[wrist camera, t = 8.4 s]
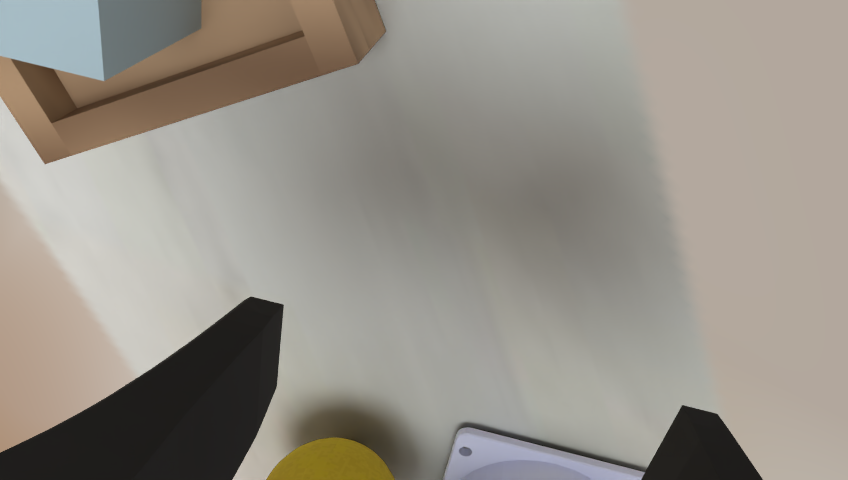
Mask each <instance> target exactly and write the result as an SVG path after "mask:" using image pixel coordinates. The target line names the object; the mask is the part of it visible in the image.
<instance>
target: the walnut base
mask: <svg viewBox="0 0 848 480" xmlns="http://www.w3.org/2000/svg"><path fill="white" fill-rule="evenodd" d="M385 32H386V30H385V27H384V25H383V22H382V19H381V16H380V14H379V11H378V8H377V6H376V3H375V0H201V29H199V30H198V31H196V32H194V33H192V34H190V35H188V36H186V37H185V38H183V39H181V40H179V41H177V42H175V43H174V44H172V45H170V46H168V47H166V48H164V49H163V50H161V51H159V52H157V53H155V54H153V55H151V56H150V57H148V58H146V59H144V60H142V61H140V62H139V63H137V64H135V65H133V66H131V67H129V68H127V69H126V70H124V71H122V72H120V73H118V74H116V75H115V76H113V77H111V78H109V79H107V80H105V81H102V80H97V79H93V78H89V77H85V76H81V75H77V74H73V73H69V72H65V71H60V70H56V69H52V68H48V67H44V66H40V65H36V64H32V63H28V62H23V61H19V60H15V59H11V58H7V57H3V56H0V96H1V98H2V100H3V101H4V103H5V104H6V106H7V107H8V109H9V110H10V112H11V113H12V115H13V116H14V118H15V119H16V121H17V122H18V124H19V125H20V127H21V128H22V130H23V132H24V133H25V135H26V136H27V138H28V139H29V141H30V142H31V144H32V145H33V147H34V148H35V150H36V151H37V153H38V154H39V156H40V157H41V159H42V160H43V162H44V163H45V164H47V163H50V162H53V161H56V160H59V159H63V158H66V157H69V156H72V155H75V154H78V153H81V152H84V151H87V150H91V149H94V148H97V147H100V146H103V145H106V144H109V143H112V142H116V141H119V140H122V139H125V138H128V137H131V136H134V135H137V134H141V133H144V132H147V131H150V130H153V129H156V128H159V127H162V126H166V125H169V124H172V123H175V122H178V121H181V120H184V119H187V118H190V117H194V116H197V115H200V114H203V113H206V112H209V111H212V110H215V109H219V108H222V107H225V106H228V105H231V104H234V103H237V102H240V101H244V100H247V99H250V98H253V97H256V96H259V95H262V94H265V93H269V92H272V91H275V90H278V89H281V88H284V87H287V86H290V85H293V84H297V83H300V82H303V81H306V80H309V79H312V78H315V77H318V76H322V75H325V74H328V73H331V72H334V71H337V70H340V69H343V68H347V67H350V66H353V65H356V64H358V63H359V62H360V61H361V60H362V59H363V57H364V56H365V55H366V54H367V53H368V52H369V50H370V49H371V48H372V47H373V46H374V45H375V43H376V42H377V41H378V40H379V39H380V38H381V37H382V35H383V34H384V33H385Z"/></svg>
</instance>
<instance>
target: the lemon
mask: <svg viewBox="0 0 848 480" xmlns="http://www.w3.org/2000/svg"><path fill="white" fill-rule="evenodd" d="M266 480H395V479H394V477H393V475H392V473H391V472H390V470H389V469H388V467H387V465H386V464H385V462H384V461H383V460H382V459H381V458H380V457H379V456H378V455H377V454H376V453H375V452H374V451H372V450H371V449H369V448H368V447H366V446H365V445H363V444H360V443H358V442H356V441H353V440H349V439H345V438H333V437H332V438H325V439H318V440H315V441H312V442H309V443H307V444H304V445H302V446H300V447H298V448H297V449H295V450H294V451H292V452H291V453H290V454H288V455H287V456H286V457H285V458H284V459H282V460H281V461H280V462H279V463H278V464H277V465H276V467H275V468H274V469H273V470H272V472H271V473H270V475H269V476H268V478H267V479H266Z"/></svg>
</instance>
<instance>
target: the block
mask: <svg viewBox="0 0 848 480" xmlns="http://www.w3.org/2000/svg"><path fill="white" fill-rule="evenodd" d="M199 29H201V0H0V56H3V57H7V58H11V59H15V60H19V61H23V62H28V63H32V64H36V65H40V66H44V67H48V68H52V69H56V70H60V71H65V72H69V73H73V74H77V75H81V76H85V77H89V78H93V79H97V80H102V81H105V80H107V79H109V78H111V77H113V76H115V75H116V74H118V73H120V72H122V71H124V70H126V69H127V68H129V67H131V66H133V65H135V64H137V63H139V62H140V61H142V60H144V59H146V58H148V57H150V56H151V55H153V54H155V53H157V52H159V51H161V50H163V49H164V48H166V47H168V46H170V45H172V44H174V43H175V42H177V41H179V40H181V39H183V38H185V37H186V36H188V35H190V34H192V33H194V32H196V31H198V30H199Z"/></svg>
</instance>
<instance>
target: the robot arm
mask: <svg viewBox="0 0 848 480" xmlns="http://www.w3.org/2000/svg"><path fill="white" fill-rule="evenodd" d="M283 306H284V305H282V304H278V303H274V302H270V301H267V300H263V299H259V298H255V297H249V298H248V299H246V300H244V301H243V302H242V303H240V304H239V305H238V306H236V307H235V308H234V309H233V310H231V311H230V312H229V313H227V314H226V315H225V316H224V317H222V318H221V319H220V320H218V321H217V322H216V323H215V324H213V325H212V326H211V327H209V328H208V329H207V330H205V331H204V332H203V333H201V334H200V335H199V336H197V337H196V338H195V339H193V340H192V341H191V342H189V343H188V344H186V345H185V346H183V347H182V348H181V349H179V350H178V351H176V352H175V353H174V354H172V355H171V356H169V357H168V358H167V359H165V360H164V361H162V362H161V363H159V364H158V365H156V366H155V367H153V368H152V369H151V370H149V371H147V372H146V373H144V374H143V375H141V376H140V377H138V378H136V379H135V380H133V381H132V382H130V383H129V384H127V385H125V386H124V387H122V388H121V389H119V390H118V391H116V392H114V393H113V394H111V395H110V396H108V397H106V398H105V399H103V400H101V401H99V402H98V403H96V404H95V405H93V406H91V407H89V408H87V409H86V410H84V411H82V412H80V413H79V414H77V415H75V416H73V417H71V418H69V419H67V420H66V421H64V422H62V423H60V424H58V425H56V426H54V427H52V428H50V429H49V430H47V431H45V432H43V433H40V434H38V435H36V436H34V437H32V438H30V439H28V440H26V441H24V442H22V443H20V444H18V445H16V446H14V447H11V448H9V449H7V450H5V451H3V452H1V453H0V480H232V479H233V477H234V476H235V474H236V472H237V470H238V468H239V467H240V465H241V463H242V461H243V459H244V458H245V456H246V454H247V452H248V450H249V449H250V447H251V445H252V443H253V441H254V439H255V438H256V435H257V433H258V431H259V428H260V426H261V424H262V421H263V419H264V417H265V414H266V412H267V409H268V407H269V404H270V402H271V399H272V397H273V394H274V392H275V389H276V387H277V376H278V365H279V353H280V341H281V329H282V318H283ZM463 447H467V448H469V449H466V448H463ZM443 480H762V478H761V476H760V475H759V473H758V472H757V470H756V469H755V468H754V466H753V465H752V463H751V462H750V460H749V459H748V457H747V456H746V454H745V453H744V451H743V450H742V449H741V447H740V445H739V444H738V443H737V441H736V440H735V438H734V437H733V435H732V434H731V432H730V431H729V430H728V428H727V427H726V425H725V424H724V422H723V421H722V420H721V418H720V417H719V416H718V414H715V413H711V412H707V411H703V410H699V409H695V408H691V407H688V406H684V405H682V407H681V409H680V410H679V412H678V414H677V416H676V418H675V420H674V421H673V423H672V425H671V427H670V429H669V430H668V432H667V434H666V436H665V438H664V439H663V441H662V443H661V445H660V447H659V448H658V450H657V452H656V454H655V456H654V457H653V459H652V461H651V463H650V465H649V466H648V468H647V470H646V472H642V471H638V470H634V469H630V468H626V467H622V466H618V465H615V464H611V463H607V462H603V461H599V460H595V459H591V458H587V457H583V456H580V455H576V454H572V453H568V452H564V451H560V450H556V449H552V448H548V447H545V446H541V445H537V444H533V443H529V442H525V441H521V440H517V439H513V438H509V437H506V436H502V435H498V434H494V433H490V432H486V431H482V430H478V429H474V428H469V427H466V428H462V429H460V430H458V432H457V434H456V437H455V440H454V444H453V447H452V450H451V454H450V457H449V460H448V463H447V467H446V470H445V473H444V477H443Z"/></svg>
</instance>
